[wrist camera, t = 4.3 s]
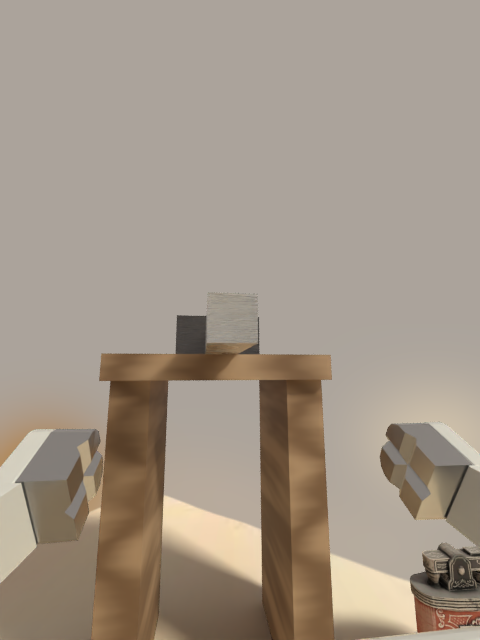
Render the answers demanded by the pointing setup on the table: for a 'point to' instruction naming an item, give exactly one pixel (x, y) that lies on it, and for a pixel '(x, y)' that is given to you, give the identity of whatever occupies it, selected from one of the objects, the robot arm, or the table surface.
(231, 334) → the steel t handle
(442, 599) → the lighter
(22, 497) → the robot arm
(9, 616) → the table surface
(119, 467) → the walnut shelf
